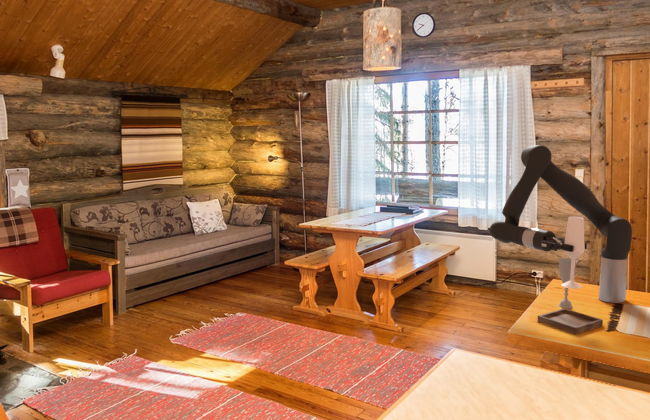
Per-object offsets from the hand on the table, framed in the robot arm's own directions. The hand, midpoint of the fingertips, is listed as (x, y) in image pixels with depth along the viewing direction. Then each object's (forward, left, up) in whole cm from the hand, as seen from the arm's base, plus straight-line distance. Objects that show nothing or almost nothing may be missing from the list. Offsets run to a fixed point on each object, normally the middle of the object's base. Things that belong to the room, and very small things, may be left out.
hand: (579, 247), depth 194 cm
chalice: (-16, -15, -28) cm, 36 cm away
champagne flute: (0, -2, -14) cm, 14 cm away
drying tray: (0, -2, -28) cm, 28 cm away
